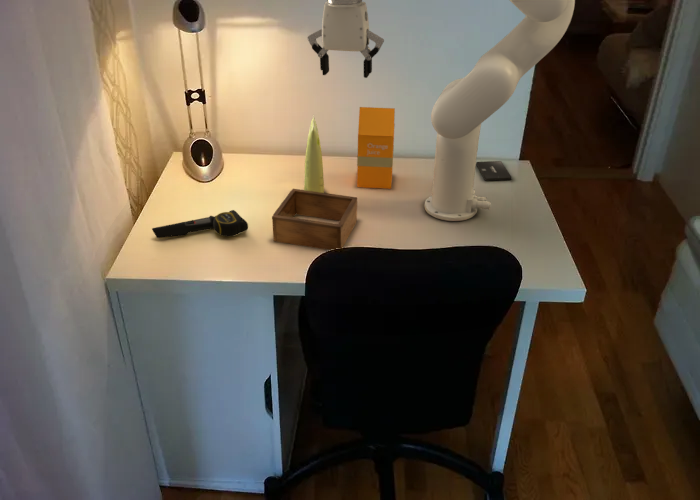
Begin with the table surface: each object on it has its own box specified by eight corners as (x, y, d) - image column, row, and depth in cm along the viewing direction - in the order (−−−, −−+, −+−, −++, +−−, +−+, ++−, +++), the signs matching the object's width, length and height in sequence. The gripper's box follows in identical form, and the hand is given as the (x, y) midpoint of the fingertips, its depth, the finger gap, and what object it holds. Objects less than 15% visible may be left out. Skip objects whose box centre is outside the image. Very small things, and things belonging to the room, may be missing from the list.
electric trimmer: (152, 235, 157) (150, 223, 155) (220, 222, 162) (218, 210, 160) (155, 244, 154) (152, 232, 152) (224, 230, 159) (222, 218, 157)
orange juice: (359, 173, 183) (360, 101, 173) (392, 175, 183) (395, 102, 172) (356, 187, 177) (357, 112, 166) (391, 189, 176) (394, 114, 165)
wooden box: (357, 221, 162) (357, 197, 159) (341, 252, 151) (341, 227, 148) (293, 212, 166) (292, 188, 162) (272, 241, 155) (271, 216, 151)
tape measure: (249, 234, 157) (248, 220, 155) (221, 242, 154) (220, 228, 152) (237, 221, 162) (236, 207, 160) (209, 229, 159) (208, 214, 156)
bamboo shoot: (329, 194, 173) (329, 121, 163) (314, 201, 170) (313, 126, 160) (314, 186, 177) (313, 114, 166) (299, 193, 174) (297, 119, 163)
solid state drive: (485, 180, 180) (485, 178, 180) (475, 164, 189) (476, 161, 188) (511, 179, 181) (512, 177, 180) (500, 163, 189) (501, 160, 189)
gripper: (387, -6, 151) (386, 71, 160) (311, -9, 154) (314, 67, 164) (379, 2, 145) (379, 82, 154) (300, -1, 148) (305, 77, 157)
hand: (346, 74), depth 159 cm, fingers open, 9 cm apart
